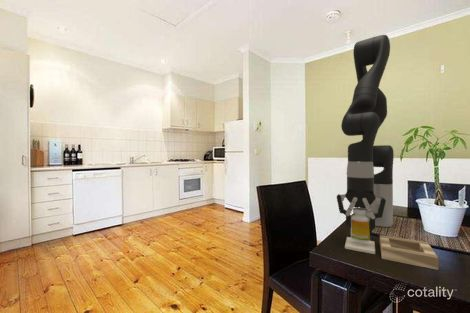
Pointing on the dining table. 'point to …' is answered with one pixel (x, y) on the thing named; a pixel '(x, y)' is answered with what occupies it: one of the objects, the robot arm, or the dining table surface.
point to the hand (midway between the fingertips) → (360, 228)
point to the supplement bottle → (360, 225)
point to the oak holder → (408, 252)
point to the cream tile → (360, 246)
